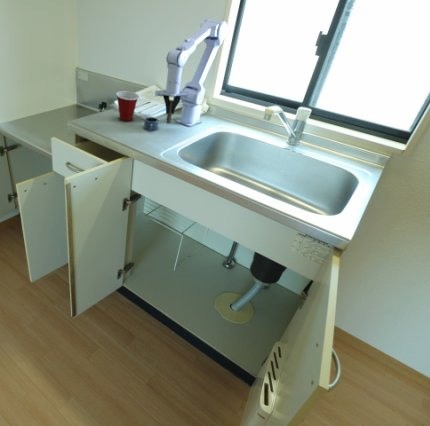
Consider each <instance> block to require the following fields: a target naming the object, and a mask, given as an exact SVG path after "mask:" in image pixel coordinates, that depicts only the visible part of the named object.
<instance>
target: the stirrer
mask: <svg viewBox="0 0 430 426" xmlns="http://www.w3.org/2000/svg"><path fill="white" fill-rule="evenodd" d="M173 102H174V101H173V99H170V100H169V107H168V114H167V116H166V124H171V123H172V117H173V114H172V110H173Z"/></svg>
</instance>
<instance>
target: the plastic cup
mask: <svg viewBox="0 0 430 426" xmlns="http://www.w3.org/2000/svg"><path fill="white" fill-rule="evenodd" d="M115 96H116V98H117V105H118V106H117V107H118V114H119V119H120V121H122V122H131V121H133V119H134V114H135V109H136V105H137V102H138V100H139V98H140V95H139V94H138V93H136V92H133V91H128V90H120V91H117V92H116V93H115Z"/></svg>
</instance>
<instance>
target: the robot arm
mask: <svg viewBox="0 0 430 426" xmlns="http://www.w3.org/2000/svg"><path fill="white" fill-rule="evenodd" d="M227 24H228V23H227V22H226V21H225V20H215V19H209V18H205V19H204V20H202V22H201V23H200V27H199V29H197V30H196V32H195V33H194V34H193V36H192V37H186V38H184V40H183V41H182V42H181V43H180V44H179V45H178V46H177V47H176V48H172V49H171V50H169V52H168V53H167V55H166V57H165V59H166V60H165V61H166V63H167V65H166V67H167V78H166V86H165V89H164V90H163V89H162V90H154V92H155V93H154V97H163V101H164V104H165V114H168V107H169V100H171V99H170V97H171V98H173V99H172V100H173V101H174V102H173V110H172V115H174V114H175V111H176V108H177V106H178V105H179V103H180V102H181V104H182V105H181V106H182V107H181V113H180V119H176V122H177V123H179V124H182V125H184V126H187V127H191V126H194V125H197V124H199V123H201V122H202V121H201V120H200V119H201V114H202V106H201V104H202V103H203V100H204V96H205V93H206V89H205V87H204V85H203V84H204V82H205V80H206V78H207V75H208V72H209V71H210V68H211V66H212V64H213V62H214V59H215V57H216V55H217V52H218V50H219V48H220V46H222V44H223V41H224V39H225V37H226V35H227V32H228V25H227ZM201 42H204V43H205V48H204V51H203V53H202V54H201V55H202V56H201V58H200V60H199V63H198V64H197V67H196V69H195V72H194V75H193V77H192V79H191V80H190V81H188V82H186V83H185V84H184V87H183V88H182V89H181V90H180V88H181V80H182V75H183V68H184V66H185V65H186V63H187V61H188V59H189V57H190V56H191V55H192V54H193V53H194V52H195V51H196V49H197V45H199V44H200V43H201Z"/></svg>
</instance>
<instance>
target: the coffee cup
mask: <svg viewBox="0 0 430 426" xmlns="http://www.w3.org/2000/svg"><path fill="white" fill-rule="evenodd" d="M143 123H144V124H143V129H144V130H147V131H149V132H152V131H153V132H154V131H157V130H158V128H159V127H158V126H159V119H158V118H157V117H153V116H147V117H145V118H144V121H143Z"/></svg>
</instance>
